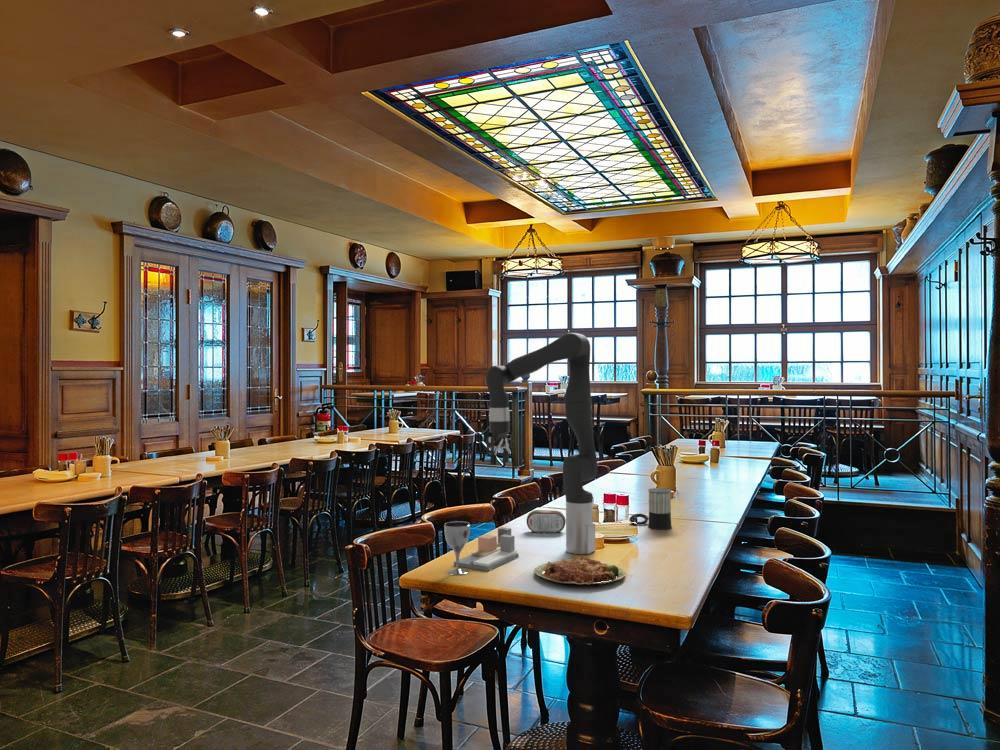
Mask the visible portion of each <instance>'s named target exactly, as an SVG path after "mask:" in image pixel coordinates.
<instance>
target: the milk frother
mask: <svg viewBox="0 0 1000 750" xmlns="http://www.w3.org/2000/svg"><path fill="white" fill-rule="evenodd" d="M647 491H648V516H647V515H646V514H644V513H635V514H632V515H631V516H630V517H629V522H630V521H631V522H636V523H637V524H638V525H637V526H642V525H645V524H647V523H648V525H647V527H648V528H650V529H654V530H669V529H671V528H673V526H672V512H671V511H672V504H671V503H672V500H671V499H672V498H671V497H672V496H671V493H672V489H669V488H664V487H663V488H662V487H653V488H648V489H647ZM638 518H643V519H644V520H642V521H638ZM631 522H630V523H631Z"/></svg>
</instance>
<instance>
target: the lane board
mask: <svg viewBox="0 0 1000 750" xmlns="http://www.w3.org/2000/svg"><path fill="white" fill-rule="evenodd" d="M499 550H500V549H498V550H495V551H493V552H491V553H488V554H486V555H484V556H475V555H472V553H471V554H469V555H467V556H465V557H462V558H459V568H460V567H461V568H468V569H472V570H477V569H479V571H483V570H487V571H486V572H489V571H488V570H490V569H492V570H494V569H496V568H498V567H500V566H499V565H501V566H502V564H503V565H505V564H507V563H509V562H511V561H513V560H515V558H516V559H517V557H518V558H519V553H517V552H516V554H514V555H512V556H510V557H508V558H506V559H503V560H501V561H499V562H497V563H495V564H492V565H490V566H488V567H486V566H480V565H474V564H473V561H476V560H478V559H480V558H483V557H485V556H487V555H490V554H492V553H494V552H497V551H499ZM510 560H511V561H510ZM508 561H509V562H508ZM506 562H507V563H506ZM504 563H505V564H504ZM453 566H454V567H456V560H455V561H453ZM497 566H498V567H497ZM495 567H496V568H495ZM493 568H494V569H493ZM490 571H491V570H490Z"/></svg>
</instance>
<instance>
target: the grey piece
mask: <svg viewBox="0 0 1000 750" xmlns="http://www.w3.org/2000/svg"><path fill="white" fill-rule="evenodd" d="M502 535H511V536H512V528H511V527H503V526H501V527H499V528H497V549H496V550H498V549H500V536H502ZM494 551H495V550H494ZM491 552H493V551H491ZM491 552H484V551H478V549H477V550H473V551H472V552H471V554H472V555H475V556H484V555H486V554H488V553H491Z"/></svg>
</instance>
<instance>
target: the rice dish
mask: <svg viewBox="0 0 1000 750" xmlns="http://www.w3.org/2000/svg"><path fill="white" fill-rule="evenodd" d="M543 571H545V573H544V574H542V572H543ZM533 572H534V574H535V575H536V576H538V577H541V578H542V579H546V580H549V581H550V582H554V583H559V584H568V585H569V584H575V585H577V586H581V585H595V584H596V585H606V583H607V584H609V583H612V582H615V581H618V580H620V579H623V578H624V577H625V576H626V571H625V570H624V569H622V568H620V567H618V566H616V565H615V564H608V563H603V562H601V561H600V560H595V559H592V558H587V557H583V556H581V557H580V556H579V557H574V558H572V559H567V558H566V559H565V558H562V559H561V561H559V560H557V561H552V562H550V561H548V562H546V563H542V564H540V565H538V566H536V567H534V570H533ZM614 576H617V579H616V578H615V577H614ZM614 578H615V579H614ZM609 580H613V581H609ZM601 581H609V582H601ZM597 582H601V583H597Z"/></svg>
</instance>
